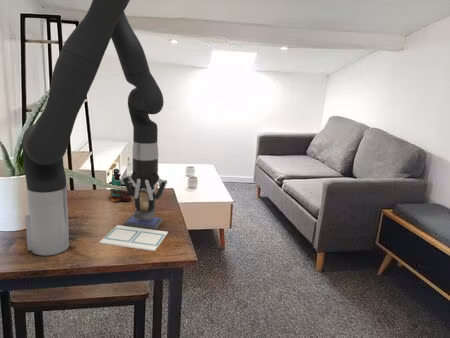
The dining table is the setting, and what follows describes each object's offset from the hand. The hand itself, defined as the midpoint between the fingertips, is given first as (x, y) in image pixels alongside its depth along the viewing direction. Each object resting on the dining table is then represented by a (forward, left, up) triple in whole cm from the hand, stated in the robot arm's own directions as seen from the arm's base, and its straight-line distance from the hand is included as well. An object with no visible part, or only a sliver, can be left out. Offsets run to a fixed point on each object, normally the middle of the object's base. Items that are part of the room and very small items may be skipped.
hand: (145, 209), depth 122 cm
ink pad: (0, 0, -5) cm, 5 cm away
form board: (+1, -10, -5) cm, 11 cm away
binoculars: (-15, +19, -5) cm, 25 cm away
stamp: (0, 0, -2) cm, 2 cm away
